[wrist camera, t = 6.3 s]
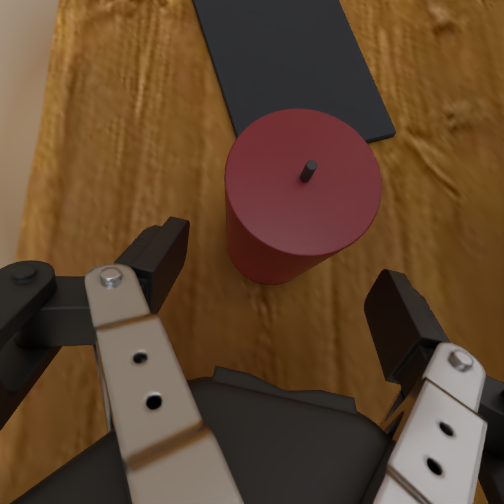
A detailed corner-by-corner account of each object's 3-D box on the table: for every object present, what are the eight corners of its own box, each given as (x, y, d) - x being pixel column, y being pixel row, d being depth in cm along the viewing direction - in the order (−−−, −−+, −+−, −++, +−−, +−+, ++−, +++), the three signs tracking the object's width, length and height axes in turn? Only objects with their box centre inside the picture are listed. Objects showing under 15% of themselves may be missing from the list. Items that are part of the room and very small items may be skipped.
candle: (296, 193, 22) (360, 74, 11) (323, 270, 21) (424, 223, 10) (217, 214, 21) (203, 107, 10) (241, 295, 20) (253, 272, 9)
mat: (321, -28, 26) (323, -36, 26) (392, 137, 23) (396, 132, 23) (190, -7, 25) (189, -15, 24) (247, 172, 22) (248, 169, 21)
